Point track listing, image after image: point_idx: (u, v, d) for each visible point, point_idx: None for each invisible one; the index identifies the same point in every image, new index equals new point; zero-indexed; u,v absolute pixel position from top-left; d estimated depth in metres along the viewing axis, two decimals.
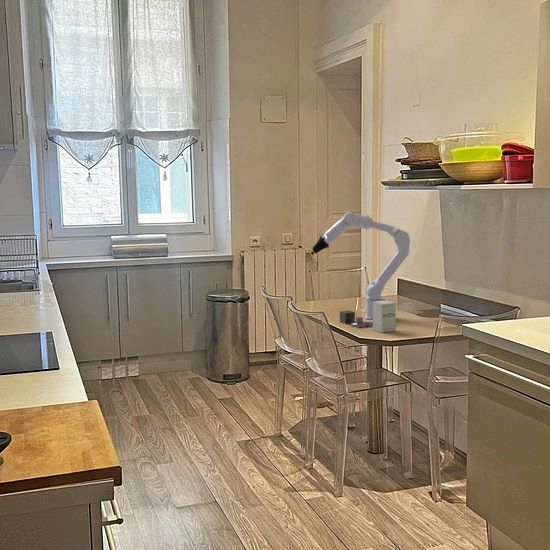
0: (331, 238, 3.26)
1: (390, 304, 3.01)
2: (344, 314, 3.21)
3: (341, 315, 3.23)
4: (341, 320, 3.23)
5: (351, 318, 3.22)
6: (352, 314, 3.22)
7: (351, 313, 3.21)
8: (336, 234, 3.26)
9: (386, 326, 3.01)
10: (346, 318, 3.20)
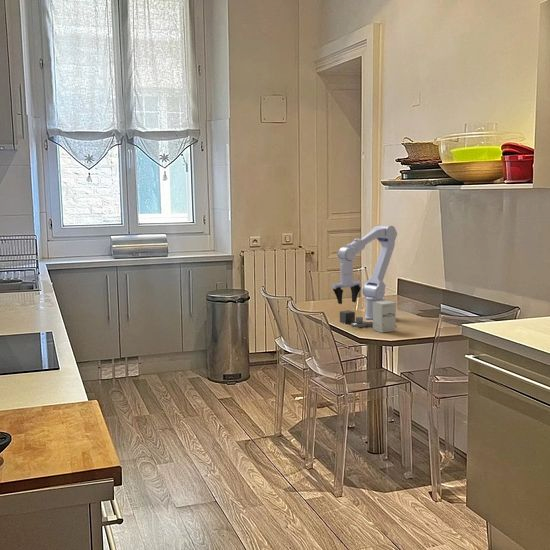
0: None
1: (390, 304, 3.01)
2: (344, 314, 3.21)
3: (341, 315, 3.23)
4: (341, 320, 3.23)
5: (351, 318, 3.22)
6: (352, 314, 3.22)
7: (351, 313, 3.21)
8: None
9: (386, 326, 3.01)
10: (346, 318, 3.20)
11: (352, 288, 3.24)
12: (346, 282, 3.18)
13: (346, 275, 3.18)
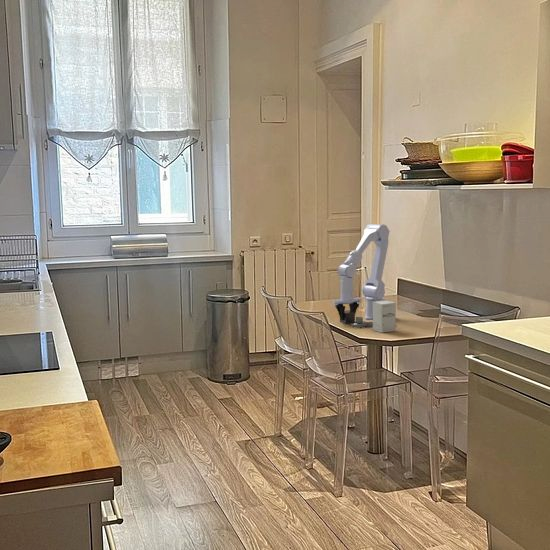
0: None
1: (390, 304, 3.01)
2: (344, 314, 3.21)
3: None
4: (341, 320, 3.23)
5: (351, 318, 3.22)
6: (352, 314, 3.22)
7: (351, 313, 3.21)
8: None
9: (386, 326, 3.01)
10: (346, 318, 3.20)
11: (350, 305, 3.25)
12: (346, 299, 3.19)
13: (346, 292, 3.19)
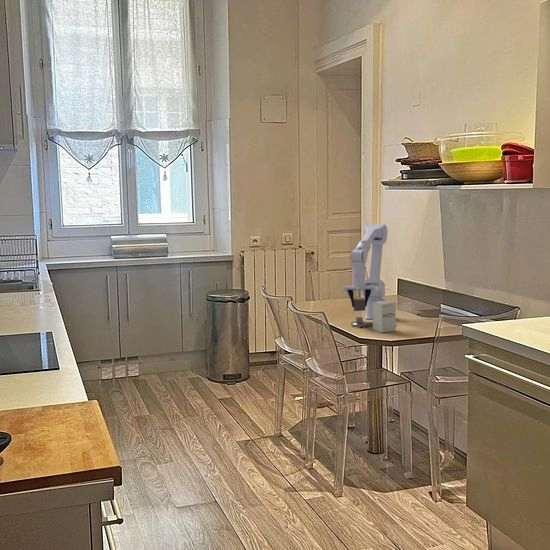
0: None
1: (390, 304, 3.01)
2: None
3: None
4: (353, 307, 3.16)
5: (361, 306, 3.12)
6: (362, 302, 3.12)
7: (361, 300, 3.12)
8: None
9: (386, 326, 3.01)
10: (355, 305, 3.12)
11: None
12: (355, 285, 3.11)
13: (355, 278, 3.10)
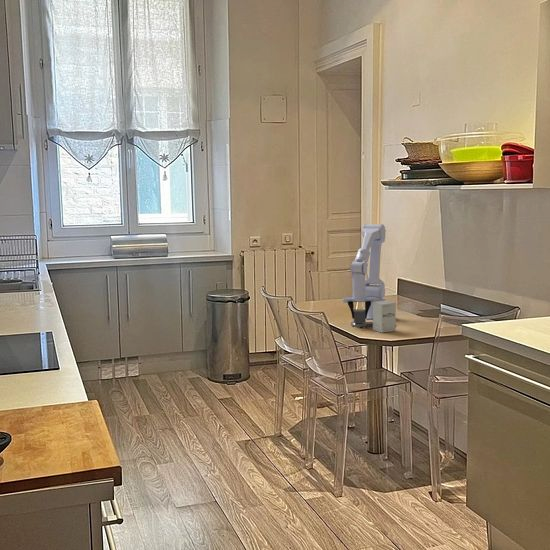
0: None
1: (390, 304, 3.01)
2: (354, 312, 3.13)
3: None
4: None
5: (361, 317, 3.13)
6: (362, 313, 3.12)
7: (361, 312, 3.12)
8: None
9: (386, 326, 3.01)
10: (355, 316, 3.13)
11: (365, 303, 3.15)
12: (355, 297, 3.11)
13: (355, 290, 3.11)
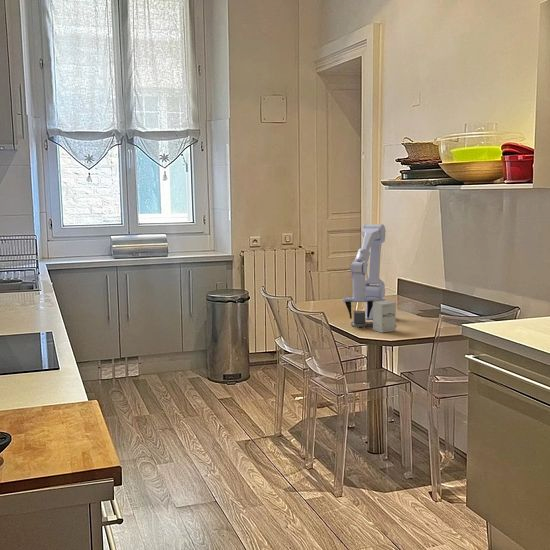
0: None
1: (390, 304, 3.01)
2: (353, 314, 3.13)
3: (353, 315, 3.16)
4: None
5: (361, 319, 3.13)
6: (362, 315, 3.12)
7: (361, 314, 3.12)
8: None
9: (386, 326, 3.01)
10: (355, 318, 3.13)
11: (367, 303, 3.15)
12: (355, 297, 3.12)
13: (355, 290, 3.11)
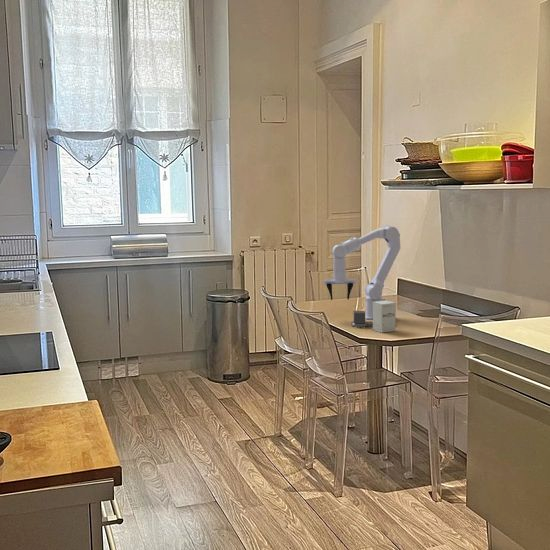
0: None
1: (390, 304, 3.01)
2: (353, 314, 3.13)
3: (353, 315, 3.16)
4: (353, 320, 3.16)
5: (361, 319, 3.13)
6: (362, 315, 3.12)
7: (361, 314, 3.12)
8: None
9: (386, 326, 3.01)
10: (355, 318, 3.13)
11: (347, 285, 3.30)
12: (336, 279, 3.27)
13: (336, 272, 3.26)
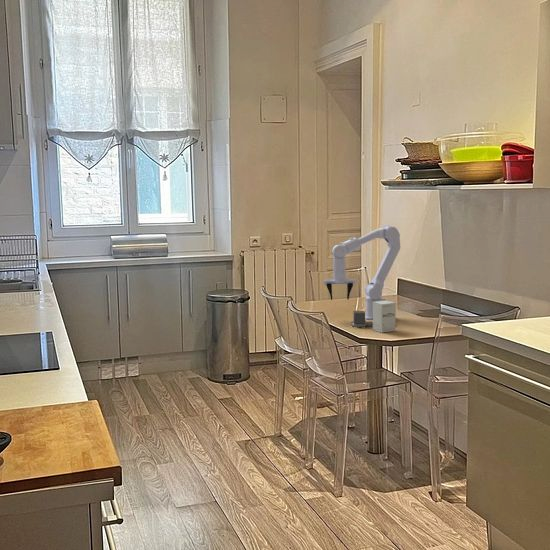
0: None
1: (390, 304, 3.01)
2: (353, 314, 3.13)
3: (353, 315, 3.16)
4: (353, 320, 3.16)
5: (361, 319, 3.13)
6: (362, 315, 3.12)
7: (361, 314, 3.12)
8: None
9: (386, 326, 3.01)
10: (355, 318, 3.13)
11: (347, 285, 3.30)
12: (336, 279, 3.27)
13: (336, 272, 3.26)
